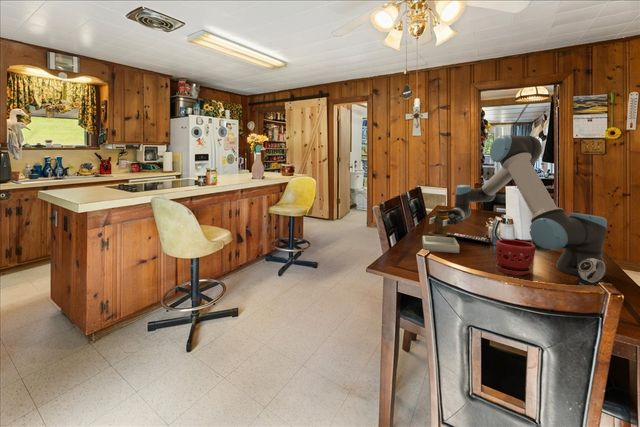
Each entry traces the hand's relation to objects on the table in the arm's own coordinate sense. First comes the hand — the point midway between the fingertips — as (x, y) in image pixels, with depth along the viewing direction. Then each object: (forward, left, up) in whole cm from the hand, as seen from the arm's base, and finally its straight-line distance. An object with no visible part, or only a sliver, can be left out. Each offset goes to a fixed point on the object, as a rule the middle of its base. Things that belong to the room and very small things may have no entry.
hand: (436, 222), depth 154 cm
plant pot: (-24, -27, -14) cm, 39 cm away
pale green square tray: (+4, -2, -14) cm, 15 cm away
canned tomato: (+14, -50, -14) cm, 54 cm away
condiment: (+5, -2, -7) cm, 9 cm away
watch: (-37, -47, -14) cm, 62 cm away
